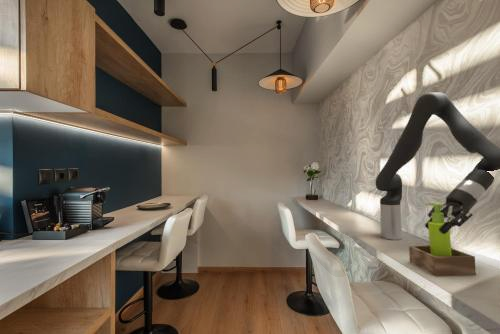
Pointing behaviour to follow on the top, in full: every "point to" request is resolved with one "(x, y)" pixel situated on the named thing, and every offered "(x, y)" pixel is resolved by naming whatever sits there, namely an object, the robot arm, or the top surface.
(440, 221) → the soap dispenser
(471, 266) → the walnut box
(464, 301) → the top surface
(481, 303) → the top surface
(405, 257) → the top surface
